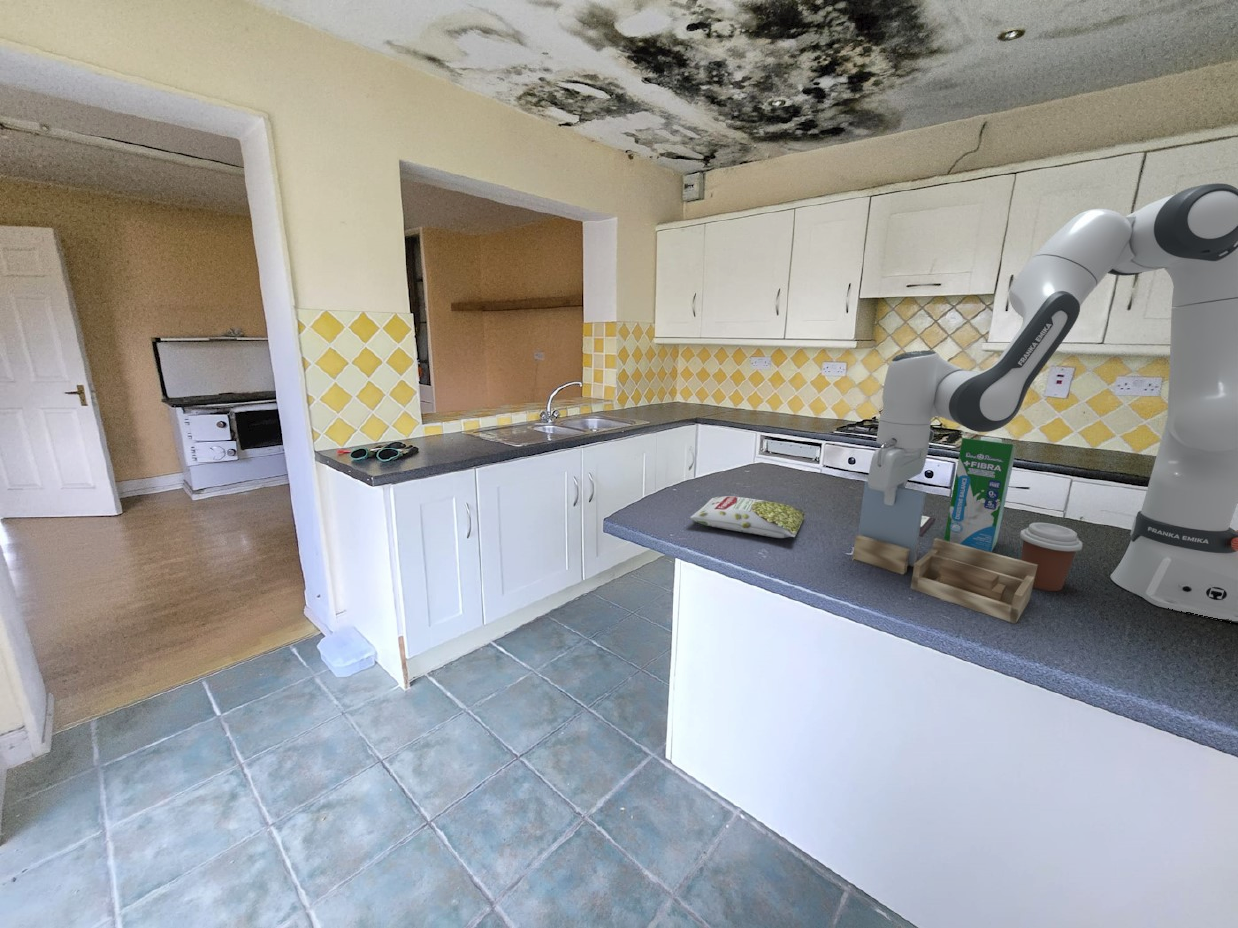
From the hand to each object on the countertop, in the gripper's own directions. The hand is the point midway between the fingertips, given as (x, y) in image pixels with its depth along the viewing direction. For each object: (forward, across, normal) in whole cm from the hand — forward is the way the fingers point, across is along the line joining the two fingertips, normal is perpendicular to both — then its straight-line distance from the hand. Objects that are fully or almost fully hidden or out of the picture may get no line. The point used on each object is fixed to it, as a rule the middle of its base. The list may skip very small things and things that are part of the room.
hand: (892, 502), depth 103 cm
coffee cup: (+14, +12, -24) cm, 30 cm away
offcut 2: (+11, -5, -16) cm, 20 cm away
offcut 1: (+9, -5, -16) cm, 19 cm away
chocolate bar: (+15, +28, +5) cm, 32 cm away
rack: (+14, -3, -16) cm, 21 cm away
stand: (+14, 0, 0) cm, 14 cm away
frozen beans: (+14, -1, +32) cm, 35 cm away
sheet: (+12, 0, 0) cm, 12 cm away
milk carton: (+14, +27, -9) cm, 32 cm away
